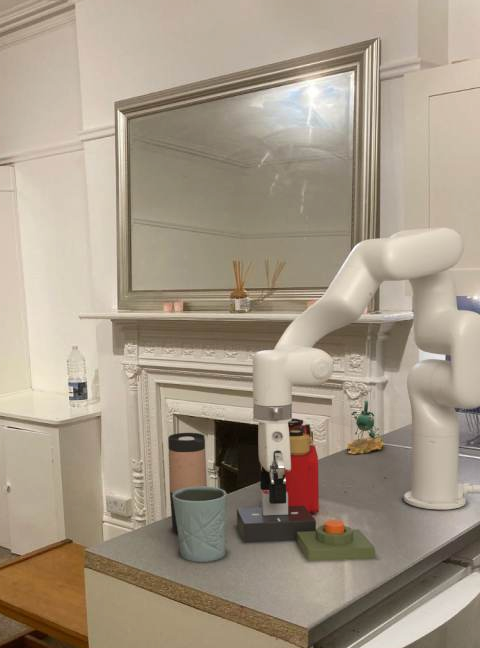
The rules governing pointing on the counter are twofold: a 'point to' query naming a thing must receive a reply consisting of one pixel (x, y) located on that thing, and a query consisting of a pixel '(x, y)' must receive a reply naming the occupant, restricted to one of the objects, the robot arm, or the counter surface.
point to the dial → (273, 506)
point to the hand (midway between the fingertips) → (273, 496)
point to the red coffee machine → (302, 468)
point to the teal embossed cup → (201, 522)
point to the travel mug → (186, 464)
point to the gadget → (273, 524)
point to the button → (334, 527)
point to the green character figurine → (364, 424)
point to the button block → (335, 545)
